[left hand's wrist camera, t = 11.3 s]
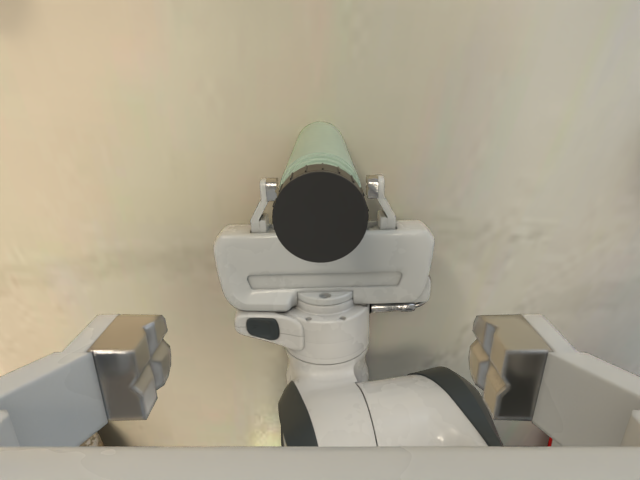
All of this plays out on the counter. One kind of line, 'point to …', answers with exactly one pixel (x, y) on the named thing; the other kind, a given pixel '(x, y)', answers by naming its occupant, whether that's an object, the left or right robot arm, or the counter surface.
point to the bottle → (320, 150)
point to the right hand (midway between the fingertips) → (321, 177)
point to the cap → (320, 213)
